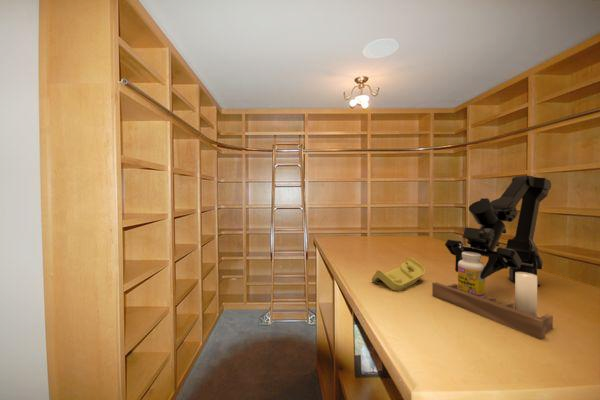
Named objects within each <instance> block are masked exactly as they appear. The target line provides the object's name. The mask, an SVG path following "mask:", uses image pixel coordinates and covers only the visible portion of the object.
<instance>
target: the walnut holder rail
mask: <svg viewBox="0 0 600 400" xmlns="http://www.w3.org/2000/svg"><path fill="white" fill-rule="evenodd" d="M432 297H435V298H437V299H439V300H441V301H444V302H447V303H450V304H453V305H455V306H457V307H460V308H462V309H464V310H467V311H469V312H471V313H475V314H476V315H479V316H481V317H484V318H486V319H489V320H492V321H495V322H497V323H499V324H501V325H505V326H506V327H510V328H512V329H514V330H516V331H519V332H521V333H524V334H526V335H529V336H532V337H534V338H537V339H539V340H543V339H544V338H545V337H546V332H548V331H550V330H552V329H553V328H554V325H553V324H554V315H552V314H549V313H546V314H543V315H542V316H538V315H537V316H534V315H531V314H528V313H525V312H522V311H519V310H516V309H515V302H512V301H507V302H504V303H498V302H497V297H496V296H493V295H490V296H488V297H484V298H481V297H478V296H475V295H472V294H469V293H466V292H463V291H461V290H458V283H452V284H449V285H445V284H443V283H440V282H437V281H436V282H433V283H432Z"/></svg>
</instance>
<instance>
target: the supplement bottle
mask: <svg viewBox="0 0 600 400" xmlns="http://www.w3.org/2000/svg"><path fill="white" fill-rule="evenodd" d="M462 258H463V260H460V261H459V262H458V272H457V285H458V290H461V291H463V292H466V293H469V294H472V295H475V296H478V297H481V298H486V297H485V296H486V278H485V279H481V277H480V276H481V273H482V271H483V269H484V267H485V266H486V265H485V264H484V263H483V262H482V261H481V259H482V256H481V254H479V253H475V252H462Z"/></svg>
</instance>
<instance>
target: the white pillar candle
mask: <svg viewBox="0 0 600 400" xmlns="http://www.w3.org/2000/svg"><path fill="white" fill-rule="evenodd" d="M537 283H538V274H537V275H534V274H531V273H526V272H515V282H514V285H515V286H514V290H515V291H514V293H515V295H514V309H516V310H519V311H522V312H525V313H528V314H531V315H534V316H537V317H538V286H537Z"/></svg>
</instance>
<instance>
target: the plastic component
mask: <svg viewBox="0 0 600 400" xmlns="http://www.w3.org/2000/svg"><path fill="white" fill-rule="evenodd" d="M425 273H426V268H425V267H424V265H422V264H421V263H420V262H419V261H417V260H416V259H415V258H413V257H408V258H407V259H406V260H404V262H402V263H401V264H400V265H399V266H398V267H396V268H393V269H391V270H389V271H387V272H384V271H382V270H381V269H378V270H376V271H375V273H374V274H373V276H372V278H371V281H372V283H378V282H380V281H381V282H383V283H384V284H385V285H386V287H388V288H390V289H391V290H393V291H396V292H400V291H402V290H404V289H406V288H408V287H410V286H413V285H414V284H415V283H416V282H417V281H418V280H420V279H421V278H422V277H423V276H424V275H425Z"/></svg>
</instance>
